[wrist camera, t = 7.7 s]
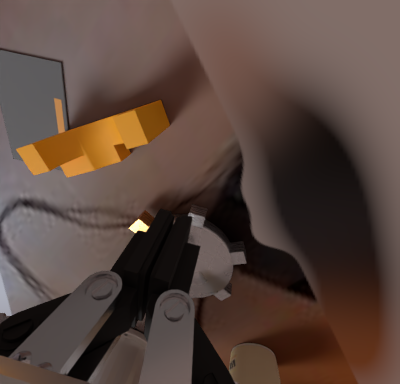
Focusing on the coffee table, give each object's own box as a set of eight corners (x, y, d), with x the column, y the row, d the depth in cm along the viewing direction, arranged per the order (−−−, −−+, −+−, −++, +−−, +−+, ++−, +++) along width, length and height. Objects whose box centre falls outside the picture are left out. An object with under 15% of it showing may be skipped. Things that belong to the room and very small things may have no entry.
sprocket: (153, 292, 34) (133, 340, 28) (115, 214, 28) (79, 252, 22) (254, 288, 30) (257, 343, 24) (234, 196, 24) (231, 237, 18)
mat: (73, 172, 28) (72, 173, 27) (14, 158, 28) (13, 158, 28) (61, 62, 22) (60, 62, 22) (-13, 47, 22) (-14, 46, 22)
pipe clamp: (84, 166, 27) (44, 191, 21) (65, 131, 25) (15, 149, 19) (175, 141, 24) (156, 163, 18) (161, 99, 22) (134, 109, 16)
